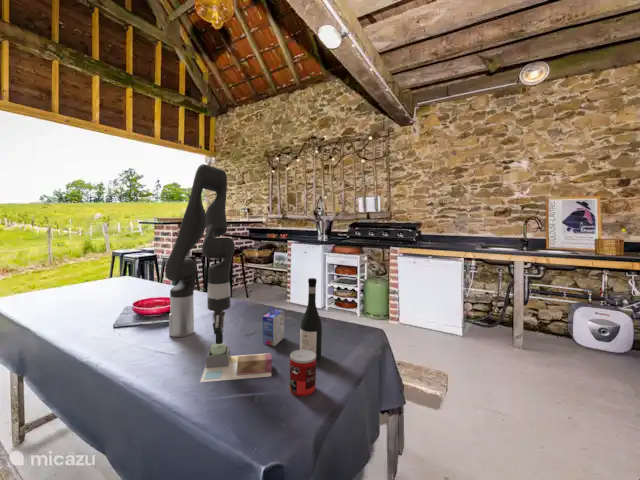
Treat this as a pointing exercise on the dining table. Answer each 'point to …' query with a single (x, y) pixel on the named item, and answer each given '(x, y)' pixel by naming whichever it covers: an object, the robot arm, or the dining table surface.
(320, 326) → the wine bottle
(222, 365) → the button housing
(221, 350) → the button
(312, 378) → the canned food
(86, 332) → the dining table surface
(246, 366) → the wooden block
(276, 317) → the ink cartridge box
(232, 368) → the colouring board
